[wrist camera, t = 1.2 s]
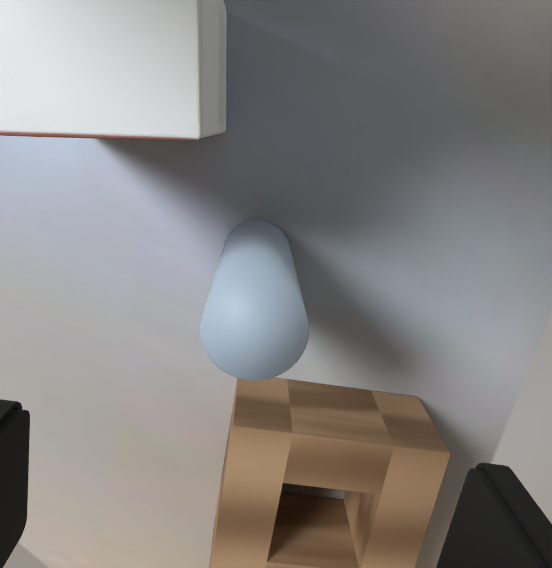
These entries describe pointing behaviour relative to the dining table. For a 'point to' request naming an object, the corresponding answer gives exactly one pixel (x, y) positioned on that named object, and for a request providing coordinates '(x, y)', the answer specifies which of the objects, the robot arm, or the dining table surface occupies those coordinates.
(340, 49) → the dining table surface
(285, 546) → the socket block
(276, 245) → the peg
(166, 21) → the small box
